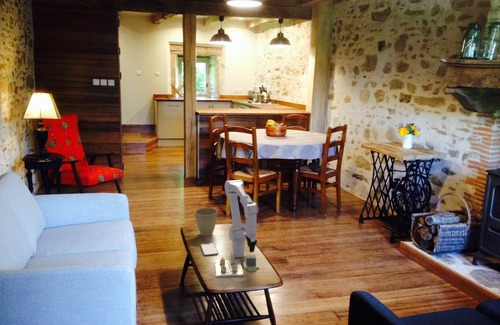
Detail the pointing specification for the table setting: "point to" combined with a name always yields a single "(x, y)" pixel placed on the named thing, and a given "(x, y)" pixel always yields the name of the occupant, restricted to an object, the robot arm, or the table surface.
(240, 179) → the robot arm
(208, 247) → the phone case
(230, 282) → the table surface
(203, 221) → the plant pot
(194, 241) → the table surface
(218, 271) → the plate
